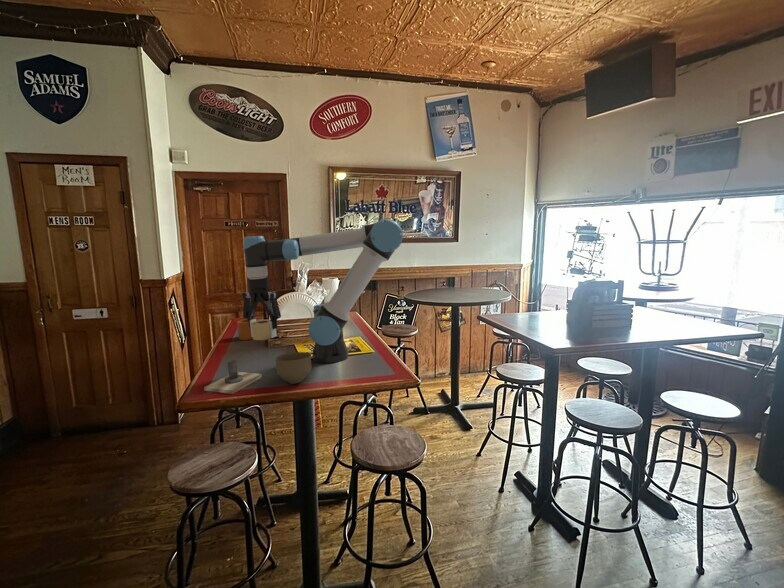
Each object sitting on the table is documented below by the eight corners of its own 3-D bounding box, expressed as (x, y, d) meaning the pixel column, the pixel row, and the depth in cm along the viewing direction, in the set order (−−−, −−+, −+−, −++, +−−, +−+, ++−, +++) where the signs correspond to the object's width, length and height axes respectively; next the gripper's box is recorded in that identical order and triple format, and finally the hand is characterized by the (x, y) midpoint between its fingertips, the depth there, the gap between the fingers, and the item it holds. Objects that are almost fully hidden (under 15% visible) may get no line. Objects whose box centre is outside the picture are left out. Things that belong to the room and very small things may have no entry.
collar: (279, 334, 160) (277, 319, 159) (266, 340, 152) (265, 324, 151) (261, 334, 162) (260, 319, 161) (248, 339, 155) (247, 324, 154)
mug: (251, 341, 203) (249, 324, 202) (235, 339, 209) (233, 322, 208) (265, 336, 211) (263, 319, 209) (249, 334, 217) (247, 318, 215)
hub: (261, 377, 154) (259, 356, 152) (232, 393, 139) (230, 370, 137) (235, 374, 158) (233, 353, 156) (204, 390, 143) (201, 368, 141)
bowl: (310, 373, 156) (308, 348, 154) (315, 385, 144) (313, 357, 142) (276, 378, 152) (273, 352, 150) (278, 390, 140) (275, 362, 138)
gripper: (287, 276, 153) (293, 334, 157) (241, 276, 160) (247, 332, 164) (275, 278, 146) (281, 340, 150) (228, 279, 153) (235, 338, 157)
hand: (264, 336), depth 157 cm, fingers closed on collar, 8 cm apart
